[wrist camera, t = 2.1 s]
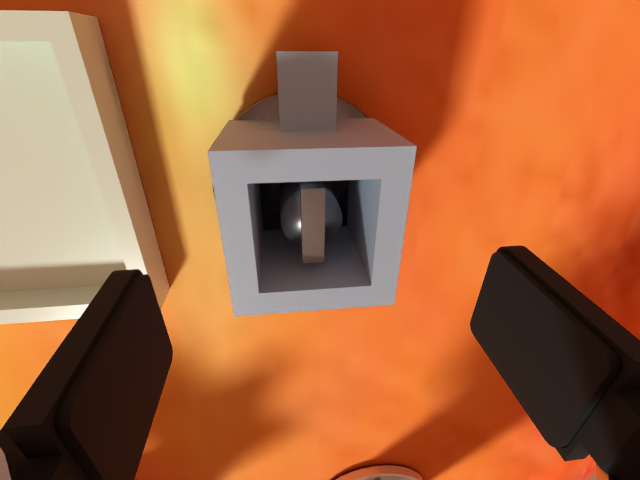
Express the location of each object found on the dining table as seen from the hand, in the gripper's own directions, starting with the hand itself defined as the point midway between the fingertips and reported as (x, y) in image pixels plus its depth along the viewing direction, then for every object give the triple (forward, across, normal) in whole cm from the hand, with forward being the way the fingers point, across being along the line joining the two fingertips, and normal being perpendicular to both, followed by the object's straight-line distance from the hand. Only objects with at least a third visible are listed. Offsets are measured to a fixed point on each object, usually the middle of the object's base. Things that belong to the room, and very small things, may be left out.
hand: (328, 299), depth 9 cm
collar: (+11, 0, -1) cm, 11 cm away
